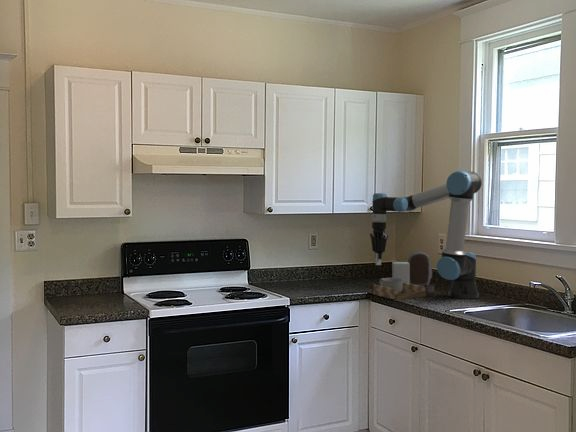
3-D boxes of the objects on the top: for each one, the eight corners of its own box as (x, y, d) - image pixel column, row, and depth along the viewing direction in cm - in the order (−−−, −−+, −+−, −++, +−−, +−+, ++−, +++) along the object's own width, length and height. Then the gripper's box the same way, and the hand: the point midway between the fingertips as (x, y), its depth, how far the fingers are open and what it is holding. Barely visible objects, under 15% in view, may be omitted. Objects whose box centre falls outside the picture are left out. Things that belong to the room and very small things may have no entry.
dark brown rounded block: (405, 286, 359) (406, 251, 358) (406, 283, 367) (406, 249, 366) (432, 287, 355) (433, 251, 355) (432, 284, 364) (432, 250, 363)
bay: (440, 296, 325) (440, 279, 325) (399, 300, 311) (399, 282, 311) (412, 290, 343) (413, 274, 343) (373, 294, 329) (373, 277, 329)
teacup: (406, 294, 329) (407, 279, 329) (390, 296, 324) (390, 280, 323) (390, 290, 341) (390, 276, 341) (374, 292, 336) (374, 277, 335)
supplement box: (408, 288, 350) (408, 261, 350) (409, 290, 341) (410, 263, 341) (391, 288, 351) (392, 261, 351) (392, 290, 342) (393, 263, 342)
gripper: (366, 221, 343) (365, 263, 344) (381, 222, 332) (380, 266, 333) (377, 220, 347) (376, 263, 348) (392, 222, 336) (391, 265, 337)
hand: (378, 264), depth 340 cm, fingers closed
